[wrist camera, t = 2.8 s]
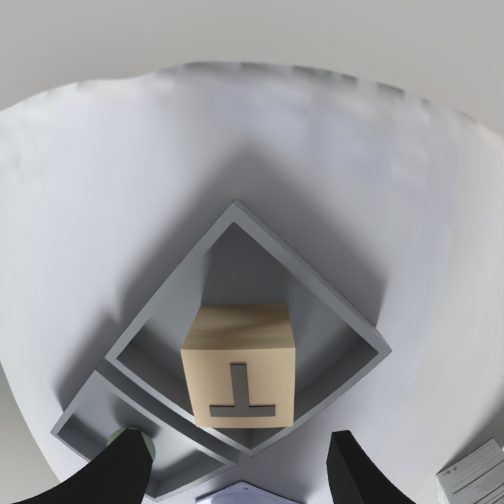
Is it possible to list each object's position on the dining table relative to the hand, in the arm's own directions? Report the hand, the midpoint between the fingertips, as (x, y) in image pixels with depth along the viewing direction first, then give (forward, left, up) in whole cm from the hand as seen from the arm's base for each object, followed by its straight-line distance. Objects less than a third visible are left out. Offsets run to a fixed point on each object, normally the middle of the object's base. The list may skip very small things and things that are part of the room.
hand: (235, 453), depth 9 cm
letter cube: (0, 0, -9) cm, 9 cm away
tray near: (0, 0, -9) cm, 9 cm away
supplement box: (-36, -1, -10) cm, 38 cm away
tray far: (0, +14, -9) cm, 16 cm away
